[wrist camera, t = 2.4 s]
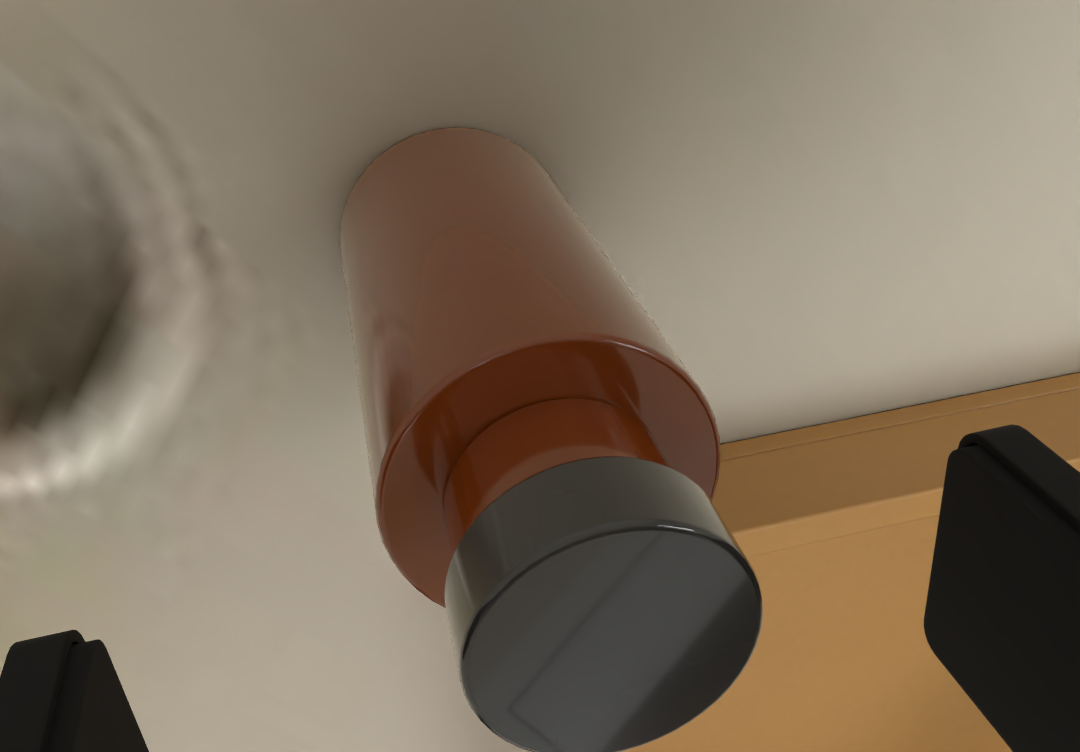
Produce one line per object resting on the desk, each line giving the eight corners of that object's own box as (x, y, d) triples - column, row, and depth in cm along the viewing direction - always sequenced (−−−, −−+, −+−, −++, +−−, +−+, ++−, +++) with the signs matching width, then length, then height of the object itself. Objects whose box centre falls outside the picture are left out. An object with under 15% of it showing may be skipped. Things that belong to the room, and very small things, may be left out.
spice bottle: (319, 144, 18) (362, 525, 9) (555, 110, 19) (834, 429, 9) (361, 354, 20) (430, 838, 11) (570, 317, 21) (808, 743, 12)
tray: (539, 479, 23) (572, 567, 20) (1407, 305, 26) (1531, 361, 24) (579, 883, 31) (606, 984, 28) (1241, 708, 34) (1320, 783, 32)
